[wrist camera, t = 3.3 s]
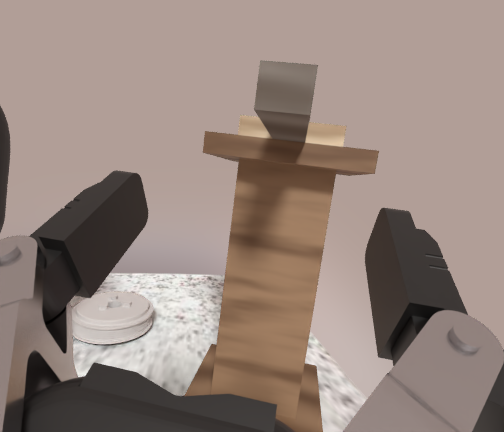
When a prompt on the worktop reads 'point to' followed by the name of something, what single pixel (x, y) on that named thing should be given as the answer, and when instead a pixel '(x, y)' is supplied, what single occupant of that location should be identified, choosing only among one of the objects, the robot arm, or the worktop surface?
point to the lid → (111, 317)
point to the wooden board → (288, 106)
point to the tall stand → (274, 271)
